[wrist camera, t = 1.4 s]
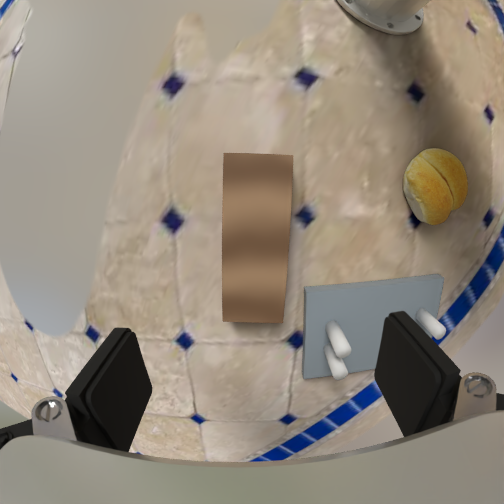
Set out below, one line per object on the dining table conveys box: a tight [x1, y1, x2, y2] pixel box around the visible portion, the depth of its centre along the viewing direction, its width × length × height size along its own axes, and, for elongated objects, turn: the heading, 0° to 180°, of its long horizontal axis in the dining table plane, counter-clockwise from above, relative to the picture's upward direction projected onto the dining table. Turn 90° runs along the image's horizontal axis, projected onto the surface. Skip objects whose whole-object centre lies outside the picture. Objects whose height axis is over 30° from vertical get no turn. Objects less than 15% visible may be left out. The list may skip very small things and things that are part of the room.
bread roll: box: [403, 148, 468, 225], centre depth 26 cm, size 8×9×4 cm
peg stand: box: [302, 274, 446, 380], centre depth 29 cm, size 12×18×6 cm, turn 93°
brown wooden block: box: [222, 153, 293, 323], centre depth 28 cm, size 16×6×4 cm, turn 178°
